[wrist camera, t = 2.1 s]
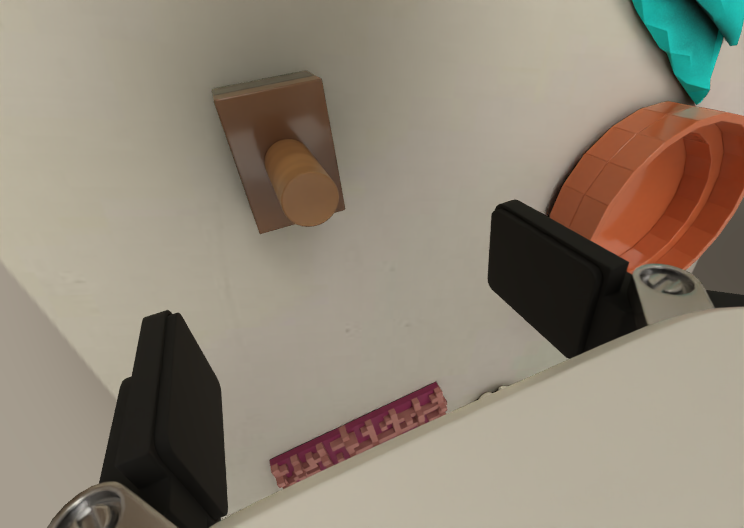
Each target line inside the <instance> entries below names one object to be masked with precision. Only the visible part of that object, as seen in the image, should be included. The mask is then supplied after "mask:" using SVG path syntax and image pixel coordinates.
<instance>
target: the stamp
mask: <svg viewBox="0 0 744 528" xmlns="http://www.w3.org/2000/svg"><path fill="white" fill-rule="evenodd" d="M212 93H213V100H214V104H215V106H216V109H217V112H218V115H219V118H220V121H221V124H222V127H223V130H224V132H225V135H226V138H227V141H228V144H229V147H230V150H231V153H232V155H233V158H234V161H235V164H236V167H237V170H238V173H239V176H240V178H241V181H242V184H243V187H244V190H245V193H246V196H247V199H248V201H249V204H250V207H251V210H252V213H253V216H254V219H255V222H256V225H257V227H258V230H259V233H260V234H262V233H266V232H269V231H273V230H276V229H280V228H283V227H287V226H290V225H294V224H297V225H300V226H306V227H310V226H316V225H319V224H322V223H324V222H325V221H327V220H328V219H329V218H330V217H331V216H332V215H333V214H334V213H336V212H339V211H343V210H345V204H344V199H343V193H342V188H341V182H340V177H339V171H338V166H337V160H336V155H335V149H334V144H333V138H332V133H331V127H330V122H329V116H328V111H327V105H326V100H325V94H324V89H323V83H322V79H321V78H319V77H317V76H315V75H314V74H312V73H310V72H308V71H301V72H296V73H291V74H286V75H280V76H275V77H270V78H265V79H260V80H255V81H250V82H244V83H239V84H234V85H229V86H224V87H219V88H214V89H212Z"/></svg>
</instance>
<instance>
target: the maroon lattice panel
mask: <svg viewBox="0 0 744 528" xmlns="http://www.w3.org/2000/svg"><path fill="white" fill-rule="evenodd" d="M446 405H447V401H446V399H445V398H444V397H443V394H442V390H441V389H440V387H439V386H438V384H437V383H436V382H435V383H432V384H430V385H428V386H426V387H424V388H422V389H420V390H418V391H415V392H413V393H411V394H409V395H407V396H405V397H403V398H401V399H398V400H396V401H394V402H392V403H390V404H388V405H386V406H383V407H381V408H379V409H377V410H375V411H373V412H371V413H369V414H366V415H364V416H362V417H360V418H358V419H356V420H354V421H352V422H349V423H347V424H345V425H343V426H341V427H339V428H337V429H335V430H332V431H330V432H328V433H326V434H324V435H322V436H320V437H317V438H315V439H313V440H311V441H309V442H307V443H305V444H303V445H300V446H298V447H296V448H294V449H292V450H290V451H288V452H286V453H283V454H281V455H279V456H277V457H275V458H273V459H271V460H270V466H271V473H272V474H273V475H274V476H275V478H276V480H277V485H278V487H279V488H281V487H283V489H285V488H287V487H289V486H291V485H293V484H295V483H297V482H299V481H301V480H304V479H306V478H308V477H310V476H312V475H314V474H316V473H318V472H320V471H323V470H325V469H327V468H329V467H331V466H333V465H336V464H338V463H340V462H342V461H344V460H347V459H349V458H351V457H353V456H355V455H358V454H360V453H362V452H364V451H366V450H369V449H371V448H373V447H375V446H377V445H380V444H382V443H384V442H386V441H388V440H390V439H393V438H395V437H397V436H399V435H401V434H404V433H406V432H408V431H410V430H412V429H415V428H417V427H419V426H421V425H423V424H426V423H428V422H430V421H432V420H435V419H437V418H439V417H441V416H443V415H446V413H445V411H447V407H446Z"/></svg>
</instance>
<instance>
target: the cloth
mask: <svg viewBox="0 0 744 528" xmlns="http://www.w3.org/2000/svg"><path fill="white" fill-rule="evenodd" d="M632 2H633V4H634V6H635V9H636V11H637V13H638V15H639V16H640V18H641V19H642V21H643V22H644V24H645V25H646V27H647V29H648V30H649V32H650V33H651V35H652V37H653V38H654V40H655V41H656V43H657V45H658V46H659V48H660V49H662V50H663V51H665V52H666V53H667V55H668V58H669V61H670V63H671V66H672V69H673V72H674V74H675V76H676V77H677V79H678V80H679V82H680V83H681V84H682V86H683V87H684V89H685V90H686V92H687V93H688V94H689V96H690V97H691V99H692V100H693V101H694V103H695V104H696V105H697V104H699V103H700V102H701V101H702V100H703V99H704V98H705V97H706V95H707V94H708V92H709V90H710V78H711V75H712V72H713V69H714V66H715V63H716V60H717V57H718V54H719V51H720V48H721V45H722V41H723V37H724V38H725V39H726V41H727V42H728V44H729V45H730V46H734V45H737V44H738V41H739V37H740V34H741V30H742V26H743V21H744V0H632Z"/></svg>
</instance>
